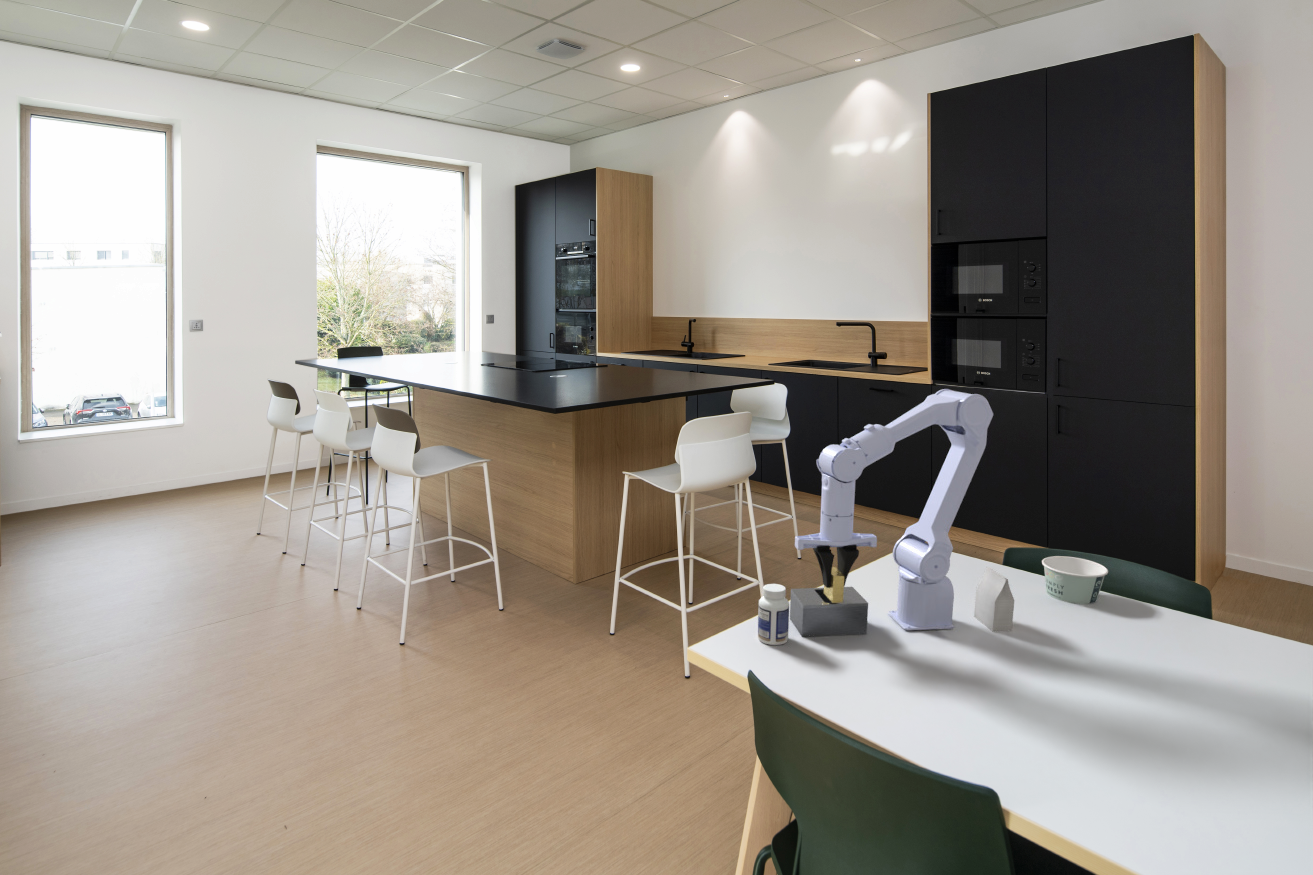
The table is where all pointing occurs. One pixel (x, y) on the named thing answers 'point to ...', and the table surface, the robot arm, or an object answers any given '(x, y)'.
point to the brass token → (835, 587)
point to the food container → (1073, 579)
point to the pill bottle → (773, 615)
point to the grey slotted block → (828, 613)
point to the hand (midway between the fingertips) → (833, 585)
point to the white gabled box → (994, 602)
